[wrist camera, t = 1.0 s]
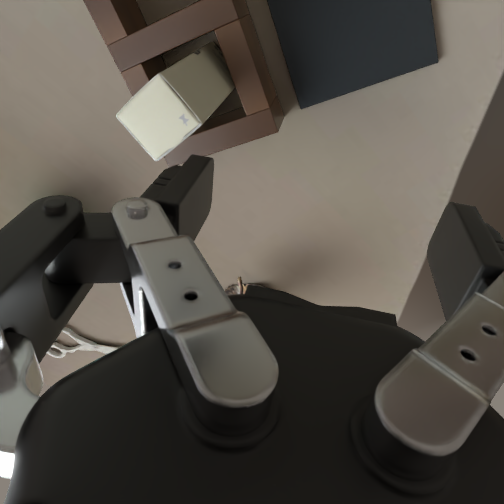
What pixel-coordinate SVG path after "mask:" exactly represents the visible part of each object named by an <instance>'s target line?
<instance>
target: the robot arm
mask: <svg viewBox="0 0 504 504" xmlns="http://www.w3.org/2000/svg"><path fill="white" fill-rule="evenodd" d="M213 172H214V160H213V158H210V157H204V156H199V155H194V154H192V155H191V156H190V157H189V158H188V159H187V161H186V162H185V163H184V164H183V165H182V166H178V165H174V166H172V167H170V168H168V169H165V170H164V171H163V172H162V173H161V174H160V175H159V176H158V178H157V179H156V180H155V181H154V182H153V184H151V185H150V186H149V188H148V189H147V190H146V191H145V192H144V193H143V194H142V195H141V197H135V198H127V199H124V200H121V201H119V202H117V203H116V204H115V205H114V206H113V207H112V213H83V207H82V203H81V202H80V201H79V200H78V199H76V198H73V197H70V196H60V195H59V196H49V197H45V198H41V199H39V200H36V201H35V202H33V203H32V204H30V205H29V206H28V207H27V208H26V209H24V210H23V211H22V212H21V213H20V214H19V215H17V216H16V217H15V218H14V219H13V220H11V221H10V222H9V223H8V224H7V225H6V226H4V227H3V228H2V229H1V230H0V477H3V478H8V479H11V482H10V486H9V489H8V493H7V496H6V499H5V502H4V504H504V419H503V418H502V417H501V416H500V415H499V414H498V413H497V412H496V411H495V410H494V409H493V408H492V407H491V406H490V403H491V400H492V399H493V397H494V396H495V394H496V393H497V391H498V390H499V388H500V387H501V385H502V384H503V383H504V240H503V238H502V237H501V235H500V233H498V232H497V231H496V230H495V229H494V228H492V227H491V226H490V225H489V224H487V223H485V222H484V221H483V219H482V217H481V215H480V214H479V212H478V210H477V208H476V207H475V206H470V205H464V204H459V203H454V202H450V203H449V204H448V205H447V206H446V208H445V210H444V212H443V214H442V216H441V218H440V220H439V222H438V225H437V227H436V229H435V231H434V233H433V235H432V238H431V240H430V242H429V245H428V250H427V259H428V262H429V266H430V269H431V272H432V276H433V279H434V282H435V285H436V289H437V292H438V296H439V299H440V302H441V306H442V309H443V312H444V315H445V319H446V322H445V323H444V324H443V325H442V326H441V327H440V328H439V329H438V330H437V331H436V332H435V333H434V334H433V335H432V336H431V337H430V338H429V339H428V340H427V341H426V342H424V341H423V340H422V339H420V338H419V337H417V336H415V335H414V334H412V333H410V332H408V331H407V330H405V329H402V328H400V327H398V326H397V323H396V316H395V314H390V313H385V312H380V311H375V310H370V309H366V308H361V307H340V306H320V305H316V304H314V303H311V302H309V301H306V300H304V299H301V298H299V297H296V296H294V295H291V294H289V293H286V292H284V291H279V290H274V289H269V288H264V287H260V286H255V285H250V284H248V285H247V289H246V292H245V294H231V295H227V294H226V293H225V291H224V289H223V288H222V286H221V285H220V283H219V281H218V280H217V278H216V277H215V275H214V273H213V272H212V270H211V269H210V267H209V265H208V264H207V262H206V261H205V259H204V257H203V256H202V254H201V253H200V251H199V249H198V248H197V246H196V245H195V243H194V240H195V238H196V236H197V235H198V233H199V231H200V229H201V227H202V225H203V224H204V222H205V220H206V218H207V216H208V214H209V211H210V208H211V202H212V189H213ZM94 283H120V287H121V289H122V292H123V295H124V298H125V301H126V304H127V307H128V310H129V312H130V315H131V318H132V321H133V324H134V327H135V331H136V336H137V339H135V340H133V341H131V342H129V343H127V344H125V345H123V346H122V347H120V348H118V349H116V350H114V351H112V352H110V353H108V354H107V355H105V356H103V357H101V358H99V359H97V360H95V361H93V362H91V363H90V364H88V365H86V366H84V367H82V368H80V369H78V370H76V371H75V372H73V373H71V374H69V375H67V376H66V377H64V378H62V379H61V380H59V381H58V382H57V383H55V384H54V385H53V386H51V387H50V388H49V389H48V390H47V391H46V392H45V393H44V394H43V395H42V396H41V397H40V396H39V394H40V391H41V389H42V386H43V375H42V372H41V369H40V366H39V363H40V362H41V360H42V359H43V358H44V356H45V355H46V353H47V352H48V350H49V349H50V347H51V346H52V344H53V343H54V342H55V340H56V339H57V337H58V336H59V334H60V333H61V331H62V330H63V328H64V327H65V325H66V324H67V323H68V321H69V320H70V318H71V317H72V315H73V314H74V312H75V311H76V309H77V308H78V307H79V305H80V304H81V302H82V301H83V299H84V298H85V296H86V295H87V293H88V292H89V290H90V289H91V288H92V286H93V284H94Z"/></svg>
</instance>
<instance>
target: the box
mask: <svg viewBox="0 0 504 504" xmlns="http://www.w3.org/2000/svg"><path fill="white" fill-rule="evenodd" d="M234 88H235V84H234V82H233V79H232V76H231V74H230V71H229V68H228V66H227V63H226V61H225V58H224V55H223V53H222V52H221V51H220V50H219V48H218V47H217V46H216V45H215V43H214V42H210V43H208V44H207V45H205V46H203V47H202V48H200V49H199V50H197V51H195V52H194V53H192V54H190V55H189V56H187V57H185V58H184V59H182V60H180V61H179V62H177V63H176V64H174V65H172V66H171V67H169V68H167V69H166V70H164V71H162V72H160V73H158V74H157V75H156V76H155V77H153V78H152V79H151V80H150V81H149V82H148V83H147V84H146V85H145V86H143V87H142V88H141V89H140V90H139V91H138V92H137V93H136V94H135V95H134V96H133V97H132V98H131V99H130V100H129V101H128V102H127V104H126V105H125V106H124V107H123V108H122V109H121V110H120V111H119V112H118V113H117V115H116V117H117V119H118V120H119V121H120V122H121V123H122V124H123V125H124V126H125V128H126V129H127V130H128V131H129V132H130V134H131V135H132V136H133V137H134V138H135V139H136V140H137V142H138V143H139V144H140V145H141V146H142V147H143V148H144V149H145V151H146V152H147V153H148V154H149V155H150V156H151V157H152V158H153V159H154V160H155V161H158V160H160V159H161V158H163V157H164V156H165V155H167V154H168V153H169V152H171V151H172V150H173V149H174V148H176V147H177V146H178V145H179V144H180V143H182V142H183V141H184V140H185V139H186V138H188V137H189V136H190V135H191V134H192V133H193V132H195V131H196V130H197V129H198V128H199V127H200V126H202V125H203V123H204V122H205V121H206V120H207V119H208V118H209V117H210V116H211V115H212V113H213V112H214V111H215V110H216V109H217V108H218V107H219V105H220V104H221V103H222V102H223V101H224V100H225V99H226V97H227V96H228V95H229V94H230V93H231V92H232V91H233V89H234Z"/></svg>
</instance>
